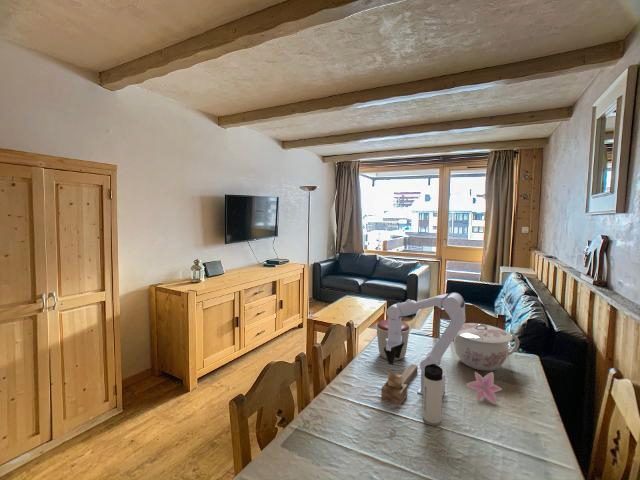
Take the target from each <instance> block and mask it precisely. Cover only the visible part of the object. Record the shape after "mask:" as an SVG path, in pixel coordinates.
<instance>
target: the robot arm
mask: <svg viewBox="0 0 640 480" xmlns="http://www.w3.org/2000/svg"><path fill="white" fill-rule="evenodd" d="M431 307H437V308H439V309H440V310H441V309H443V310H444V311H445V313H446V314H447V315H448V317H449V320H450V322H449V324H447V326H446V328H445V329H444V331H443V332H442V334H441V335H440V337H439V338H438V340H437V342H436V343H435V345H434V347H433V348H432V350H431V351H430V352H428V353H427V354H426V355H425V357H424V358H423V360H421V361H420V363H419V369H420V370H421V374H420V387H419V389H418V390H417V394H420V395H423V396H424V374H425V366H427V365H431V364H436V365H437V366H439V367H440V365H441V363H442V362H441V361H442V358H443V355H445V353H446V352H447V350H448V349H449V347H450V346H451V344H452V342H454V338H455V336H456V335H457V333H458V332H459V330H460V329H461V327H462V326H463V324H464V323H466V302H465V300H464V297H463V296H462V295H461V294H460V293H458V292H451V293H443V294H439V295H435V296H433V297H432V296H431V297H428V298H426V299H422V300H419V301H416V300H414V299H406V300H405V302H397V303H393V304H392V305H391V306H389V307H388V308H387V309H386V315H387V318H388V319H387V320H388V338H387V339H386V340H385V341H387V345H386V347H385V348H384V352H385V353H386V356H387V359H386V360H387V364H388V365H392V366H393V365H394V363H395V361H394V358H400V354H401V350H402V348H403V346H404V342H401V341H402V336H401V323H402V322H403V321H402V317H407V316H410V315H414V314H417V313H418V312H419V310H422V309H427V308H431ZM401 321H402V322H401ZM442 378H443V379H442V397H443V396H444V394H445V393H446V376H445V374H443V375H442Z"/></svg>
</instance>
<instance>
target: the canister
mask: <svg viewBox="0 0 640 480" xmlns="http://www.w3.org/2000/svg"><path fill="white" fill-rule="evenodd" d="M401 322H402V323H401V336H402V341H401V342H404V346H403V348H402V350H401V354H400V358H394V362H395V361H400V360H402V359H404V358H405V357H406V354H407V347H408V342H409V334H410V331H411V329H412V328H411V326H410V324H408V323H406V322H405V321H402V320H401ZM375 328H376V334H377V335H376V337H377V345H378V347H377V348H378V353H379V355H380V356H381V357H382V358H383V359H385V360H387V356H386V353H385V352H384V348H385V347H386V345H387V341H385V340H386V339H387V338H388V319H382V320H380V321H378V322H376V323H375Z"/></svg>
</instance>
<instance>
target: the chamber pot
mask: <svg viewBox="0 0 640 480" xmlns="http://www.w3.org/2000/svg"><path fill="white" fill-rule="evenodd" d="M513 340H514V345H513V347H511V348H510V345H509V343H510V342H511V341H513ZM453 344H454V350H455V353H456V355H457V357H458V359H459V360H460V362H461V363H463V364H464V365H465V366H467V367H469V368H471V369H475V370H479V371H483V372H484V371H485V372H486V371H490V372H493V371H496V370H498V369H500V367H502V366H503V364H504V363H506V360H507V358H508V357H509V356H510V355H512V354H513V353H515V352H516V351H517V350H518V349H519V346H520V340H519V338H518V337H517V335H515V334H514V333H510V332H508V331H506V330H505V329H502V328H499V327H497V326H493V325H489V324H484V323H477V322H476V323H475V322H465V323H464V324H463V326H462V327H461V329H460V330H459V332H458V333H457V335H456V336H455V338H454V339H453ZM509 348H510V349H509Z"/></svg>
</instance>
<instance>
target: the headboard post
mask: <svg viewBox="0 0 640 480" xmlns="http://www.w3.org/2000/svg"><path fill="white" fill-rule="evenodd" d="M417 374H418V365H417V364H414V363H410V365H409V366H408V367H407V368H406V369H405V370H404V372H403V373H402V374H401V375H402V382H401V390H398V389H395V388H392V387H388V380H387V381H386V382H385V383H384V385H383V386H382V387H381V399H383V400H386V401H389V402H392V403H395V404H397V405H402V403H403V402H404V401H405V399H406V398H407V396H408V385H409V384H410V383H411V382H412V381H413V380H414V379H413V378H415V376H416V375H417Z"/></svg>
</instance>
